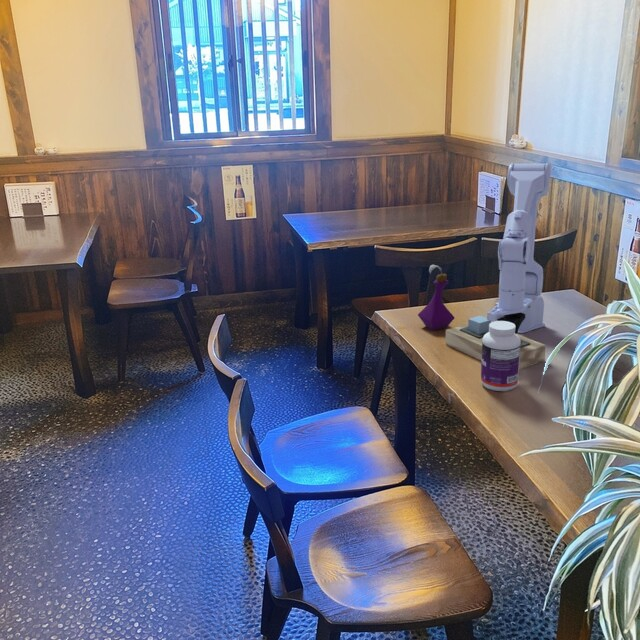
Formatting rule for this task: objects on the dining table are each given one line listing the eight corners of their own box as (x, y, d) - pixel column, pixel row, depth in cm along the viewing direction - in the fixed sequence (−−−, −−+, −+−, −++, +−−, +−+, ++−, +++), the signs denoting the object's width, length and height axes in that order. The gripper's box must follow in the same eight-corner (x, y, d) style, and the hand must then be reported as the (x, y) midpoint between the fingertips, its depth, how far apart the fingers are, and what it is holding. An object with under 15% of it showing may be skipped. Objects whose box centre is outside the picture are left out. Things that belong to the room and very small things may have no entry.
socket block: (479, 333, 168) (480, 318, 166) (544, 360, 150) (545, 343, 148) (445, 344, 162) (445, 328, 161) (508, 373, 144) (509, 356, 143)
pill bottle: (483, 375, 144) (485, 317, 139) (519, 379, 141) (523, 320, 136) (478, 390, 137) (480, 330, 132) (516, 395, 134) (519, 333, 129)
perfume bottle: (439, 320, 178) (440, 259, 172) (454, 328, 172) (456, 266, 166) (417, 325, 176) (417, 264, 170) (431, 333, 169) (432, 270, 163)
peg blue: (479, 330, 161) (480, 315, 160) (490, 335, 158) (491, 319, 157) (468, 334, 160) (468, 318, 158) (479, 339, 156) (479, 323, 155)
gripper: (517, 278, 152) (514, 329, 157) (477, 291, 145) (475, 345, 149) (542, 284, 147) (538, 337, 152) (502, 298, 139) (499, 353, 144)
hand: (508, 341), depth 150 cm, fingers closed, pressing on peg grey
